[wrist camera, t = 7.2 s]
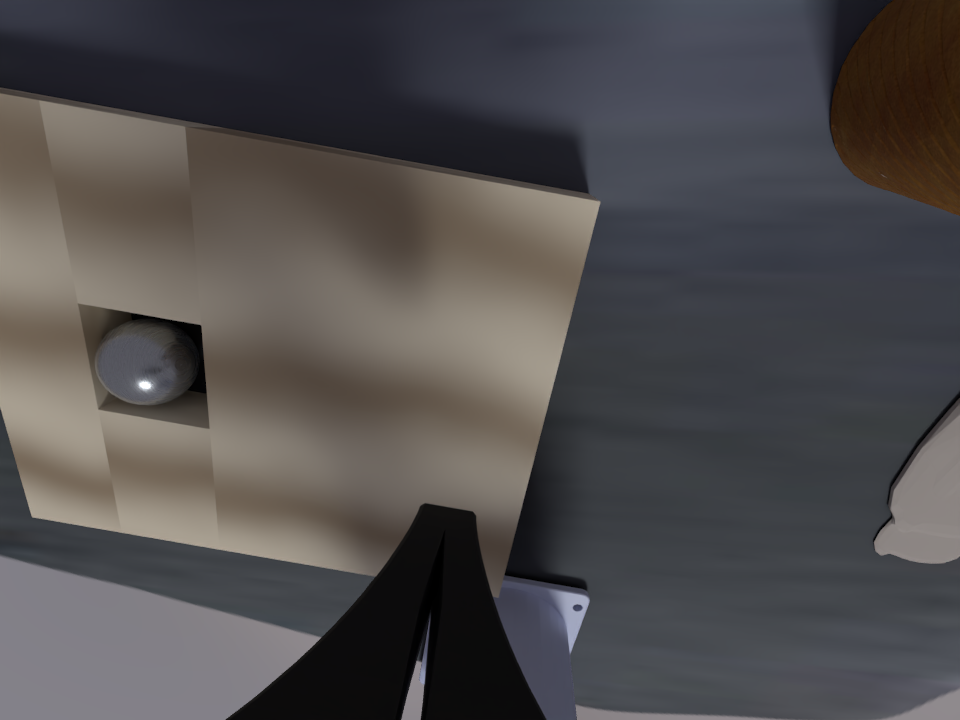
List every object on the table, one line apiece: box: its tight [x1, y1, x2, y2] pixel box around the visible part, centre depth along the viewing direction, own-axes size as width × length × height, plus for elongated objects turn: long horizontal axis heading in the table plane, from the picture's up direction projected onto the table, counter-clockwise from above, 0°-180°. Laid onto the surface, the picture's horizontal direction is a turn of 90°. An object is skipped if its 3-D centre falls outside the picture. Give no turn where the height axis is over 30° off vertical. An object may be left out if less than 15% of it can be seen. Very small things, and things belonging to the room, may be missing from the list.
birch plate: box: [0, 87, 600, 598], centre depth 20 cm, size 18×22×2 cm
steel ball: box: [94, 319, 200, 405], centre depth 20 cm, size 4×4×4 cm
